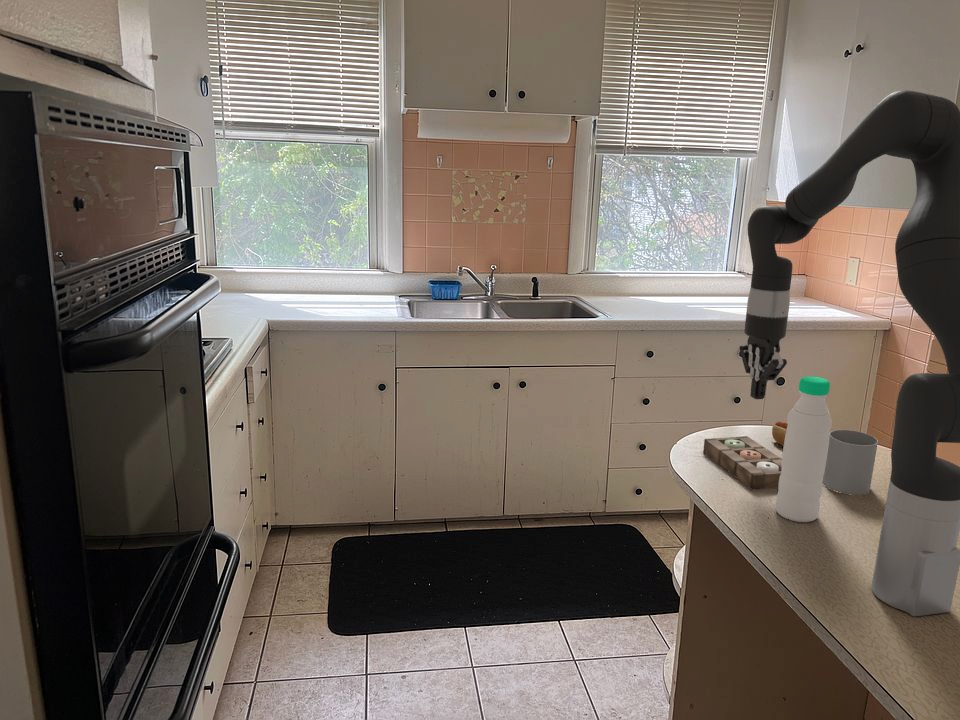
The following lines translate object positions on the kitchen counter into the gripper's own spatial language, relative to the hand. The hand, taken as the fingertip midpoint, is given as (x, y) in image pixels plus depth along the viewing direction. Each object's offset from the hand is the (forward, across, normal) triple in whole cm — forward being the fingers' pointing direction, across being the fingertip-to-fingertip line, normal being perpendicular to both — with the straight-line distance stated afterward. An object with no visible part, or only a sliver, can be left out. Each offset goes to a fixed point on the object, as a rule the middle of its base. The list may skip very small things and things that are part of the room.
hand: (757, 397), depth 147 cm
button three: (+15, 0, 0) cm, 15 cm away
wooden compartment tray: (+15, 0, 0) cm, 15 cm away
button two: (+15, +6, 0) cm, 16 cm away
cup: (+15, -11, -14) cm, 23 cm away
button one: (+15, -6, 0) cm, 16 cm away
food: (+15, +7, -16) cm, 23 cm away
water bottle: (+15, -20, +3) cm, 25 cm away
